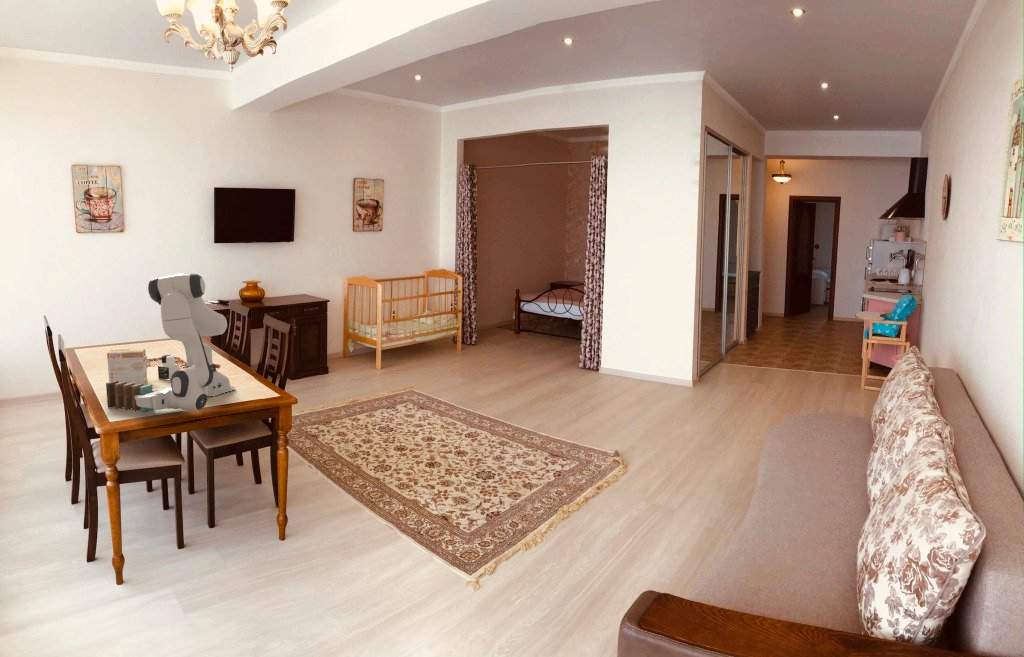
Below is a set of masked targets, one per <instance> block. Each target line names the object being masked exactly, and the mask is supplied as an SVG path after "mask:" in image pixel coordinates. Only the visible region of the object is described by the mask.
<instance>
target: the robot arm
mask: <svg viewBox="0 0 1024 657" xmlns="http://www.w3.org/2000/svg"><path fill="white" fill-rule="evenodd" d="M205 290H206V282H205V280H204V279H203V277H202V275H199V274H197V273H190V274H189V273H184V272H179V273H176V274H173V275H167V276H161V277H159V276H158V277H157V276H156V277H155V278H151V279H150V280H149V281H148V286H147V291H148V292H147V293H148V294H149V297H150V298H151V300H153V301H154V303H155V302H156V303H157V304H158V305H159V306H160V315H161V322H162V323H161V325H162V328H163V331H164V333H165V335H166V336H167V337H168V338H169V339H172V340H174V341H178V342H181V343H182V346H183V347H184V350H185V358H186V365H185V367H184V368H181V369H180V368H179V370H177V371H175V372H174V373H173V374H172V377H171V380H170V386H167V387H165V388H162V389H152V391H153V392H152V393H149V394H145V395H142V396H141V395H136V396H135V400H136V404H137V406H139V407H144V408H153V410H154V411H160V410H166V409H169V410H170V409H173V410H178V409H180V410H182V411H189V412H190V411H194V412H195V411H196V412H198V411H199V410H202V409H203V408H204V407H205V406H206V405H207V402H208V397H207V396H213V397H215V396H214V395H217V396H219V395H218V394H220V395H222V394H221V393H224V394H226V393H225V392H227V393H229V392H228V391H231V392H233V391H232V390H234V391H236V386H233V385H231V383H230V382H231V381H230V379H229V377H228V376H227V375H224V373H222V372H219V371H218V370H217V369H220V368H221V364H220V363H219V364H218V363H216V364H215V363H213V349H212V347H211V346H210V345H209V344H208V343H205V342H203V340H202V337H213V336H214V337H215V336H219V335H223V334H224V333H225V332H226V330H227V328H228V322H227V318H226V317H225V315H223V314H222V313H219V312H217V311H215V310H214V309H212V308H211V307H209V306H208V305H207V304H206V303H205V301H204V299H203V296H204V294H205Z"/></svg>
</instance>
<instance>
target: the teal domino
mask: <svg viewBox="0 0 1024 657" xmlns="http://www.w3.org/2000/svg"><path fill="white" fill-rule="evenodd" d="M152 392H153V384H149V383H148V385H145V386H142V387H140V395H141V396H142V395H145V394H149V393H152ZM152 409H153V408H144V407H141V410H140V412H141V411H142V412H141V413H146V411H147V412H149V410H150V411H152ZM153 410H154V409H153Z"/></svg>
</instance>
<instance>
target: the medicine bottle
mask: <svg viewBox="0 0 1024 657" xmlns="http://www.w3.org/2000/svg"><path fill="white" fill-rule="evenodd" d="M177 370H180V364H179V363H176V358H175V355H173V354H166V355H163V356H161V364H158V365H157V376H158V379H159V378H161V379H160V380H163V379H171V377H172V374H173V373H174V372H175V371H177Z"/></svg>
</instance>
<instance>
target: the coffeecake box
mask: <svg viewBox="0 0 1024 657" xmlns="http://www.w3.org/2000/svg"><path fill="white" fill-rule="evenodd" d="M106 356H107V358H106V359H107V371H108V382H112V381H119V383H120V382H127V384H128V383H132V382H133V383H135V385H137V384H140V383H141V384H144V386H145V385H149V383H148V372H147V371H148V370H147V369H148V367H147V368H146V356H147V353H146V348H134V349H133V348H132V349H131V348H130V349H129V348H128V349H110V350H109V351H107V353H106Z"/></svg>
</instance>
